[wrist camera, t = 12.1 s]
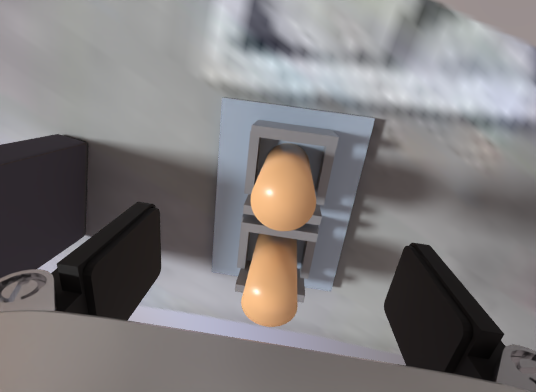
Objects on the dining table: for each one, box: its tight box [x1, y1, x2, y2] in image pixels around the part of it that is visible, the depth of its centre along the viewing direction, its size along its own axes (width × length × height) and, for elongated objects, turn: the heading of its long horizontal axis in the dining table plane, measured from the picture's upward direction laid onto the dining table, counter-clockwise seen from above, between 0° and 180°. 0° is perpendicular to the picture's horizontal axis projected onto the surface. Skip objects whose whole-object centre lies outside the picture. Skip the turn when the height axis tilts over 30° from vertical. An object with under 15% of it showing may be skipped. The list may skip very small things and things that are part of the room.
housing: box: [212, 97, 375, 327], centre depth 23 cm, size 18×13×10 cm
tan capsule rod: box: [251, 143, 316, 231], centre depth 21 cm, size 4×4×9 cm
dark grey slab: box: [0, 134, 88, 278], centre depth 23 cm, size 11×4×15 cm, turn 165°
